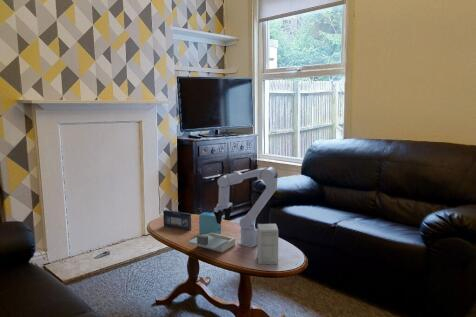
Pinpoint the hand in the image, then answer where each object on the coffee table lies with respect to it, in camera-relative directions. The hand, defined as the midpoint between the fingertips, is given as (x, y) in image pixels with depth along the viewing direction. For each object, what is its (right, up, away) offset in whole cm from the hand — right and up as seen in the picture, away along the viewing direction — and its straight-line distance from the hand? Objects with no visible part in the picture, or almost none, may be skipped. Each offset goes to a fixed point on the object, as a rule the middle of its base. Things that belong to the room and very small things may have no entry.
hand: (222, 221), depth 205 cm
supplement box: (+22, -15, -24) cm, 36 cm away
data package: (-8, -9, +10) cm, 16 cm away
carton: (-3, -12, -7) cm, 14 cm away
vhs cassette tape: (-28, -8, +21) cm, 36 cm away
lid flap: (-7, -8, -13) cm, 17 cm away
